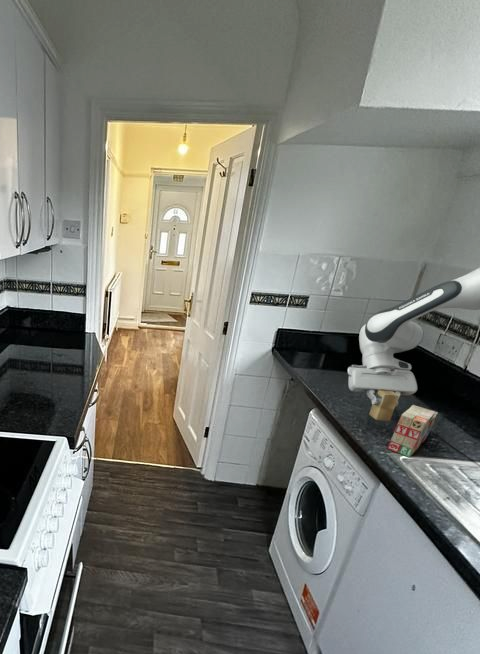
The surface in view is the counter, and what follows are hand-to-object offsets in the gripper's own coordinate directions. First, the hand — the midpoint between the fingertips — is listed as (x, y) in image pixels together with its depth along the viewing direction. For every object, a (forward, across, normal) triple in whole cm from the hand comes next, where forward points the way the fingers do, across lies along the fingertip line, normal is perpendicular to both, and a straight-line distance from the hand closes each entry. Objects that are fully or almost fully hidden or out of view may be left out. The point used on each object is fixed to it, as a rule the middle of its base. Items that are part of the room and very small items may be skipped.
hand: (385, 404), depth 134 cm
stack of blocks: (+11, +8, +5) cm, 15 cm away
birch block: (+3, 0, +4) cm, 5 cm away
